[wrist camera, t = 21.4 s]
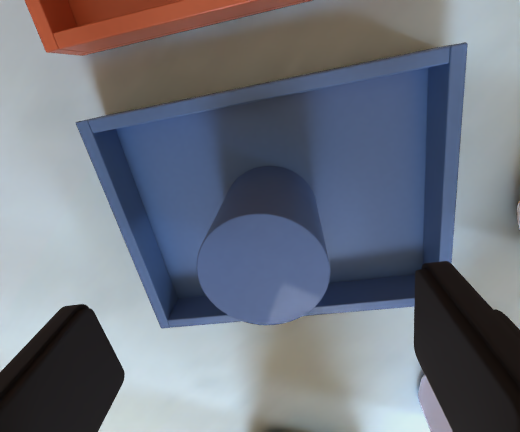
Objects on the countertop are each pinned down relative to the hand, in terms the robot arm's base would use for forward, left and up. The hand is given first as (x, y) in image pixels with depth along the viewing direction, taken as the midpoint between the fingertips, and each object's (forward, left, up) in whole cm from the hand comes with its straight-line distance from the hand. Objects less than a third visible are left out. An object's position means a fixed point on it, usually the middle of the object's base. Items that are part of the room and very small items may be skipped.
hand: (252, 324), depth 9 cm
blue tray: (+1, 0, -9) cm, 9 cm away
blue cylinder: (0, 0, -9) cm, 9 cm away
